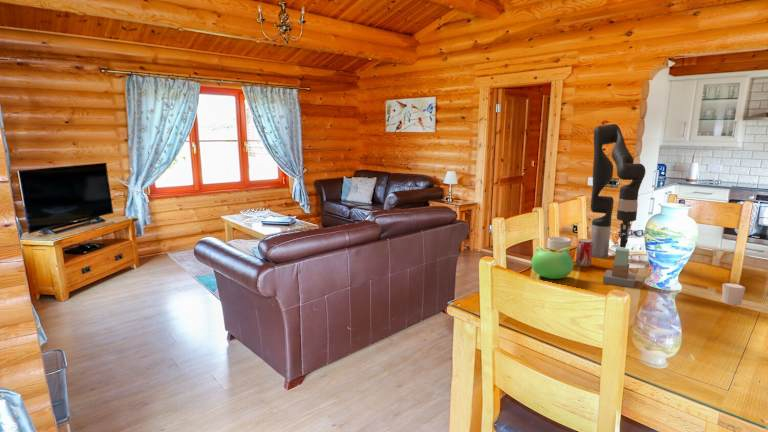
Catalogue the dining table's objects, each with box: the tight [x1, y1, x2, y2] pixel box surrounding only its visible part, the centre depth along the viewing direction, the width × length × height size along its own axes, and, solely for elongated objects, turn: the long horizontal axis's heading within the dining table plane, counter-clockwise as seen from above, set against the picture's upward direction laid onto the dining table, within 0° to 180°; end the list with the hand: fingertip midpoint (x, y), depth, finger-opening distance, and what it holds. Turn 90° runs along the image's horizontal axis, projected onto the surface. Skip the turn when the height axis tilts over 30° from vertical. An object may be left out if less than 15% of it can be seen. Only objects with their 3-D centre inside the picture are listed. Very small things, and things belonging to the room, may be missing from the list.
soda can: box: [575, 238, 593, 268], centre depth 213 cm, size 7×7×13 cm
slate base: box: [602, 269, 637, 289], centre depth 188 cm, size 12×12×3 cm
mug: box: [546, 236, 572, 255], centre depth 218 cm, size 15×11×13 cm
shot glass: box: [721, 282, 746, 306], centre depth 163 cm, size 7×7×7 cm
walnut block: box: [611, 263, 630, 278], centre depth 188 cm, size 6×6×5 cm
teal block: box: [613, 247, 630, 267], centre depth 187 cm, size 5×5×7 cm
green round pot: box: [530, 246, 574, 280], centre depth 193 cm, size 18×17×15 cm
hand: (623, 245), depth 186 cm, fingers open, 8 cm apart
